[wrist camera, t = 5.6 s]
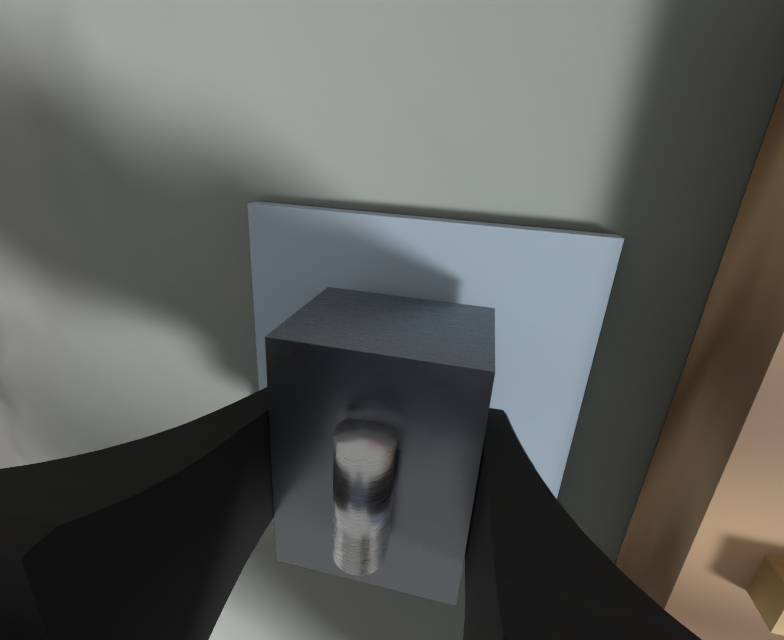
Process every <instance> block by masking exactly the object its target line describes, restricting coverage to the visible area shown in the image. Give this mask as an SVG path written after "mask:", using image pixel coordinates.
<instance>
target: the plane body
mask: <svg viewBox="0 0 784 640" xmlns="http://www.w3.org/2000/svg"><path fill="white" fill-rule="evenodd" d="M615 565H616V566H617V567H618V568H619V569H620V570H621V571H622V572H623V573H624V574H625V575H626V576H627V577H628V578H629V579H631V580H632V581H633V582H634V583H635V584H636V585H637V586H638V587H639V588H640V589H642V590H643V591H644V592H645V593H646V594H647V595H648V596H649V597H651V598H652V599H653V600H654V601H655V602H656V603H657V604H659V605H660V606H661V607H662V608H663V609H664V610H665V611H667V612H668V613H669V614H670V615H671V616H673V617H674V618H675V619H676V620H678V621H679V622H680V623H681V624H683V625H684V626H685V627H686V628H688V629H689V630H690V631H692V632H693V633H694V634H695V635H697V636H698V637H699V638H700V639H702V640H784V82H783V85H782V88H781V91H780V93H779V96H778V99H777V102H776V105H775V108H774V111H773V114H772V116H771V119H770V122H769V125H768V128H767V131H766V134H765V136H764V139H763V142H762V145H761V148H760V151H759V154H758V157H757V159H756V162H755V165H754V168H753V171H752V174H751V177H750V179H749V182H748V185H747V188H746V191H745V194H744V197H743V200H742V202H741V205H740V208H739V211H738V214H737V217H736V220H735V222H734V225H733V228H732V231H731V234H730V237H729V240H728V243H727V245H726V248H725V251H724V254H723V257H722V260H721V263H720V265H719V268H718V271H717V274H716V277H715V280H714V283H713V286H712V288H711V291H710V294H709V297H708V300H707V303H706V306H705V308H704V311H703V314H702V317H701V320H700V323H699V326H698V329H697V331H696V334H695V337H694V340H693V343H692V346H691V349H690V351H689V354H688V357H687V360H686V363H685V366H684V369H683V372H682V374H681V377H680V380H679V383H678V386H677V389H676V392H675V394H674V397H673V400H672V403H671V406H670V409H669V412H668V414H667V417H666V420H665V423H664V426H663V429H662V432H661V435H660V437H659V440H658V443H657V446H656V449H655V452H654V455H653V457H652V460H651V463H650V466H649V469H648V472H647V475H646V478H645V480H644V483H643V486H642V489H641V492H640V495H639V498H638V500H637V503H636V506H635V509H634V512H633V515H632V518H631V521H630V523H629V526H628V529H627V532H626V535H625V538H624V541H623V543H622V546H621V549H620V552H619V555H618V558H617V561H616V564H615Z"/></svg>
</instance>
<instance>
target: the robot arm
mask: <svg viewBox="0 0 784 640" xmlns="http://www.w3.org/2000/svg"><path fill="white" fill-rule="evenodd" d="M273 517H274V506H273V487H272V468H271V449H270V429H269V410H268V391H267V387H266V388H264V389H262V390H260V391H258V392H256V393H253V394H251V395H249V396H247V397H245V398H243V399H241V400H239V401H237V402H235V403H233V404H230V405H228V406H226V407H224V408H221V409H219V410H217V411H214V412H212V413H210V414H207V415H205V416H203V417H201V418H198V419H196V420H193V421H191V422H188V423H186V424H183V425H180V426H178V427H175V428H172V429H169V430H166V431H163V432H161V433H158V434H155V435H152V436H148V437H145V438H142V439H138V440H135V441H131V442H127V443H124V444H120V445H117V446H113V447H109V448H106V449H102V450H98V451H94V452H90V453H85V454H81V455H76V456H72V457H67V458H62V459H57V460H52V461H47V462H41V463H36V464H30V465H24V466H17V467H10V468H4V469H0V640H208V639H209V637H210V635H211V633H212V631H213V629H214V626H215V624H216V622H217V620H218V618H219V616H220V614H221V612H222V610H223V608H224V605H225V603H226V601H227V599H228V597H229V595H230V593H231V591H232V589H233V587H234V585H235V583H236V581H237V579H238V577H239V575H240V573H241V571H242V569H243V567H244V565H245V563H246V561H247V560H248V558H249V556H250V555H251V553H252V551H253V549H254V548H255V546H256V544H257V543H258V541H259V539H260V538H261V536H262V535H263V533H264V532H265V530H266V528H267V527H268V525H269V524H270V522H271V520H272V519H273ZM465 588H466V600H465V625H464V637H463V640H702V639H700V638H699V637H698V636H697V635H695V634H694V633H693V632H692V631H690V630H689V629H688V628H686V627H685V626H684V625H683V624H681V623H680V622H679V621H678V620H676V619H675V618H674V617H673V616H671V615H670V614H669V613H668V612H667V611H665V610H664V609H663V608H662V607H661V606H660V605H659V604H657V603H656V602H655V601H654V600H653V599H652V598H651V597H649V596H648V595H647V594H646V593H645V592H644V591H643V590H642V589H640V588H639V587H638V586H637V585H636V584H635V583H634V582H633V581H632V580H631V579H629V578H628V577H627V576H626V575H625V574H624V573H623V572H622V571H621V570H620V569H619V568H618V567H617V566H616V565H615V564H614V563H613V562H612V561H611V560H610V559H609V558H608V557H607V556H606V555H605V554H604V553H603V552H602V551H601V550H600V549H599V548H598V547H597V546H596V545H595V544H594V543H593V542H592V541H591V540H590V539H589V537H588V536H587V535H586V534H585V533H584V532H583V531H582V530H581V529H580V528H579V526H578V525H577V524H576V523H575V522H574V520H573V519H572V518H571V517H570V516H569V514H568V513H567V512H566V511H565V510H564V508H563V507H562V506H561V504H560V503H559V502H558V500H557V499H556V498H555V496H554V495H553V494H552V492H551V491H550V489H549V488H548V486H547V485H546V483H545V482H544V481H543V479H542V478H541V476H540V475H539V473H538V471H537V470H536V468H535V467H534V465H533V463H532V462H531V460H530V458H529V457H528V455H527V453H526V452H525V450H524V448H523V446H522V445H521V443H520V441H519V439H518V437H517V435H516V433H515V431H514V429H513V427H512V425H511V423H510V421H509V419H508V416H507V414H506V413H505V412H504V410H500V409H494V408H489V413H488V419H487V425H486V431H485V437H484V443H483V449H482V455H481V461H480V467H479V473H478V479H477V484H476V490H475V496H474V502H473V508H472V514H471V520H470V526H469V532H468V538H467V544H466V550H465Z"/></svg>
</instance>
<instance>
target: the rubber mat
mask: <svg viewBox="0 0 784 640" xmlns="http://www.w3.org/2000/svg"><path fill="white" fill-rule="evenodd" d="M247 209H248V225H249V241H250V257H251V273H252V289H253V305H254V321H255V337H256V353H257V369H258V385H259V391H260V390H262V389H264V388H266V387H267V371H266V352H265V336H266V335H268V334H269V333H270V332H271V331H273V330H274V329H275V328H277V327H278V326H279V325H280V324H282V323H283V322H284V321H285V320H287V319H288V318H289V317H290V316H292V315H293V314H294V313H295V312H297V311H298V310H299V309H301V308H302V307H303V306H304V305H306V304H307V303H308V302H309V301H311V300H312V299H313V298H314V297H316V296H317V295H318V294H319V293H321V292H322V291H323V290H325V289H326V288H327V287H332V288H340V289H348V290H356V291H364V292H372V293H380V294H388V295H395V296H403V297H411V298H419V299H427V300H435V301H443V302H451V303H459V304H467V305H474V306H482V307H490V308H495V377H494V383H493V389H492V395H491V401H490V407H489V408H494V409H500V410H504V412H505V413H506V414H507V416H508V419H509V421H510V423H511V425H512V427H513V429H514V431H515V433H516V435H517V437H518V439H519V441H520V443H521V445H522V446H523V448H524V450H525V452H526V453H527V455H528V457H529V458H530V460H531V462H532V463H533V465H534V467H535V468H536V470H537V471H538V473H539V475H540V476H541V478H542V479H543V481H544V482H545V483H546V485H547V486H548V488H549V489H550V491H551V492H552V494H553V495H554V496H555V498H556V499H557V497H558V493H559V489H560V485H561V481H562V477H563V473H564V470H565V466H566V462H567V458H568V454H569V450H570V446H571V443H572V439H573V435H574V431H575V427H576V423H577V419H578V416H579V412H580V408H581V404H582V400H583V396H584V392H585V389H586V385H587V381H588V377H589V373H590V369H591V365H592V362H593V358H594V354H595V350H596V346H597V342H598V338H599V334H600V331H601V327H602V323H603V319H604V315H605V311H606V307H607V304H608V300H609V296H610V292H611V288H612V284H613V280H614V277H615V273H616V269H617V265H618V261H619V257H620V253H621V250H622V246H623V242H624V238H622V237H621V236H619V235H617V234H606V233H595V232H584V231H573V230H563V229H552V228H541V227H530V226H519V225H508V224H498V223H487V222H476V221H465V220H454V219H443V218H433V217H422V216H411V215H400V214H389V213H378V212H368V211H357V210H346V209H335V208H324V207H313V206H303V205H292V204H281V203H270V202H259V201H257V202H252V203H247Z"/></svg>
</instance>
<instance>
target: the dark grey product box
mask: <svg viewBox="0 0 784 640" xmlns="http://www.w3.org/2000/svg"><path fill="white" fill-rule="evenodd" d="M265 352H266V371H267V391H268V410H269V429H270V449H271V468H272V487H273V506H274V526H275V545H276V561H279V562H283V563H287V564H291V565H295V566H299V567H303V568H307V569H311V570H315V571H319V572H323V573H327V574H331V575H335V576H339V577H343V578H347V579H351V580H355V581H359V582H363V583H367V584H371V585H375V586H379V587H383V588H387V589H391V590H395V591H399V592H403V593H407V594H411V595H415V596H419V597H423V598H427V599H431V600H435V601H439V602H443V603H447V604H451V605H455V606H456V604H457V598H458V592H459V586H460V580H461V574H462V568H463V562H464V556H465V550H466V544H467V538H468V532H469V526H470V520H471V514H472V508H473V502H474V496H475V490H476V484H477V479H478V473H479V467H480V461H481V455H482V449H483V443H484V437H485V431H486V425H487V419H488V413H489V407H490V401H491V395H492V389H493V383H494V377H495V308H490V307H482V306H474V305H467V304H459V303H451V302H443V301H435V300H427V299H419V298H411V297H403V296H395V295H388V294H380V293H372V292H364V291H356V290H348V289H340V288H332V287H327V288H326V289H325V290H323V291H322V292H321V293H319V294H318V295H317V296H316V297H314V298H313V299H312V300H311V301H309V302H308V303H307V304H306V305H304V306H303V307H302V308H301V309H299V310H298V311H297V312H295V313H294V314H293V315H292V316H290V317H289V318H288V319H287V320H285V321H284V322H283V323H282V324H280V325H279V326H278V327H277V328H275V329H274V330H273V331H271V332H270V333H269V334H268V335H266V336H265Z"/></svg>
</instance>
